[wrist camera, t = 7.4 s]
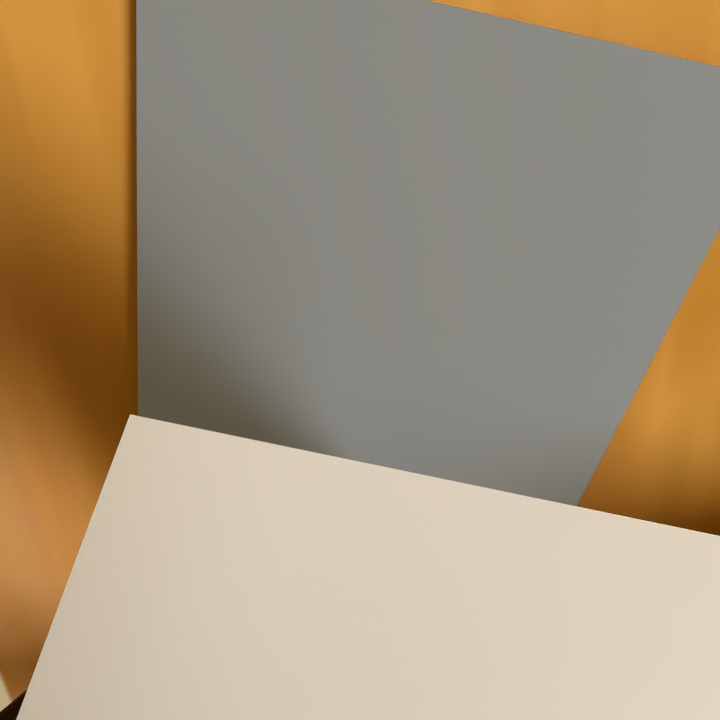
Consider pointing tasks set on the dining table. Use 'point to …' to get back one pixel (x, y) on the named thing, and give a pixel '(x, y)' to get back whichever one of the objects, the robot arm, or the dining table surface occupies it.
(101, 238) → the dining table surface
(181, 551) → the block
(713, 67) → the mat
